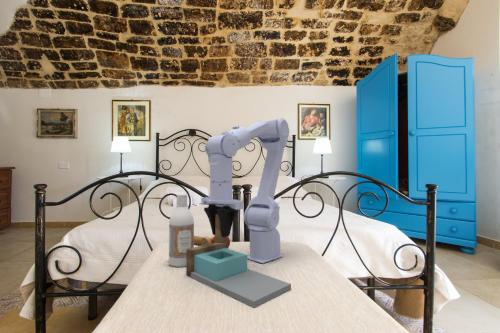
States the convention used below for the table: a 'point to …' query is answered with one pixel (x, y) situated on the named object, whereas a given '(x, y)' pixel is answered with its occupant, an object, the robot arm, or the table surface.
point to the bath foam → (180, 232)
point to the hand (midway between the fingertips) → (220, 235)
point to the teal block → (220, 263)
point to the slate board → (247, 286)
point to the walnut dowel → (218, 231)
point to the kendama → (208, 240)
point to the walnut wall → (200, 250)
